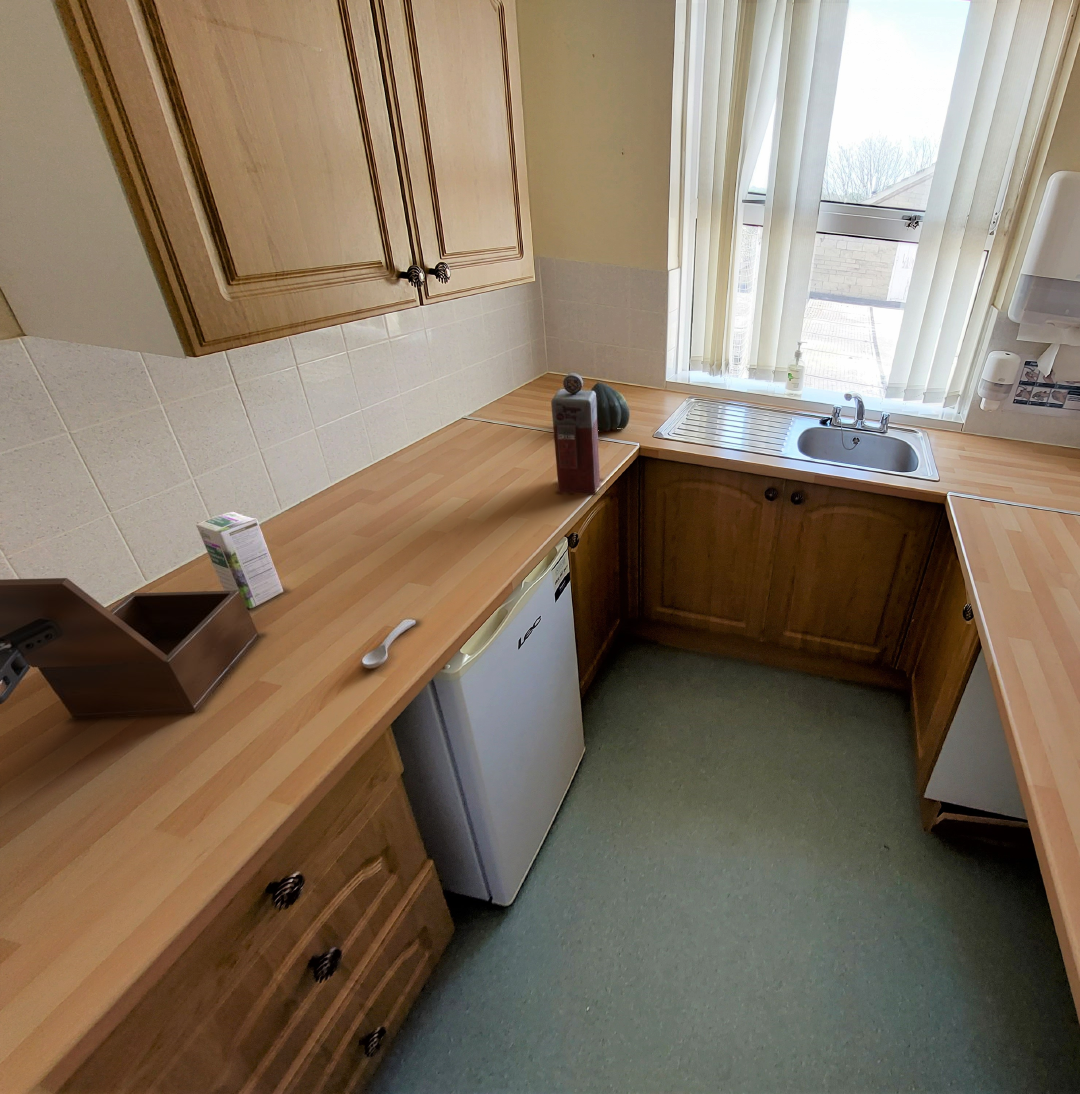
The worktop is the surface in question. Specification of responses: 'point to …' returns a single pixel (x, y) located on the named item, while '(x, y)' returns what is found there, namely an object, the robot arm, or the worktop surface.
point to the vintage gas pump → (576, 437)
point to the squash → (610, 408)
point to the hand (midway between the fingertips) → (53, 626)
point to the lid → (71, 625)
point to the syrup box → (240, 557)
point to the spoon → (385, 646)
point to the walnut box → (180, 633)
